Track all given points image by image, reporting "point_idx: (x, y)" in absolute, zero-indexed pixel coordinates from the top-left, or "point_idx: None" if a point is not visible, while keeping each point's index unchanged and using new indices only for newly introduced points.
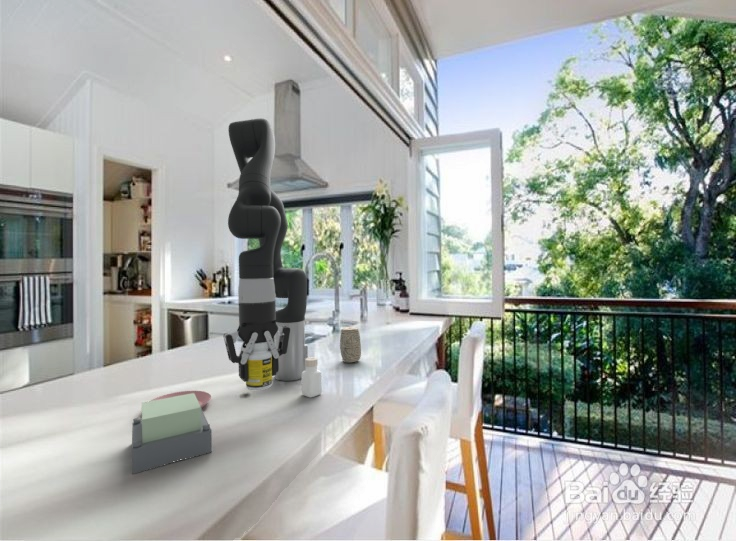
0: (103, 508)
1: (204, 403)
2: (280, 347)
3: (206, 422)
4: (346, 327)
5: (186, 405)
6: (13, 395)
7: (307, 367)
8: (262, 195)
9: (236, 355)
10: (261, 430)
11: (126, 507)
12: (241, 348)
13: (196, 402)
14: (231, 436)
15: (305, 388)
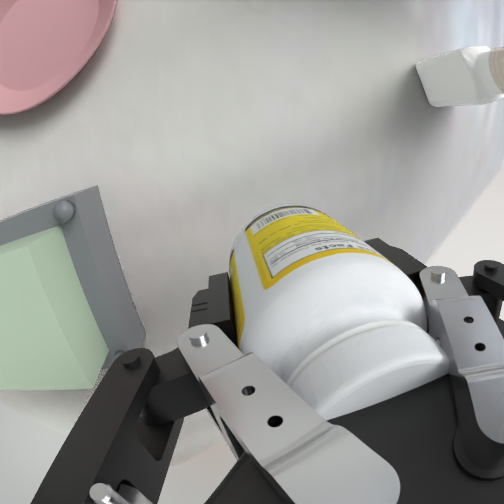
0: (48, 405)
1: (92, 52)
2: (495, 297)
3: (111, 316)
4: None
5: (47, 358)
6: None
7: (491, 77)
8: None
9: (175, 442)
10: None
11: (73, 415)
12: (207, 395)
13: (65, 346)
14: (182, 275)
15: (436, 82)
